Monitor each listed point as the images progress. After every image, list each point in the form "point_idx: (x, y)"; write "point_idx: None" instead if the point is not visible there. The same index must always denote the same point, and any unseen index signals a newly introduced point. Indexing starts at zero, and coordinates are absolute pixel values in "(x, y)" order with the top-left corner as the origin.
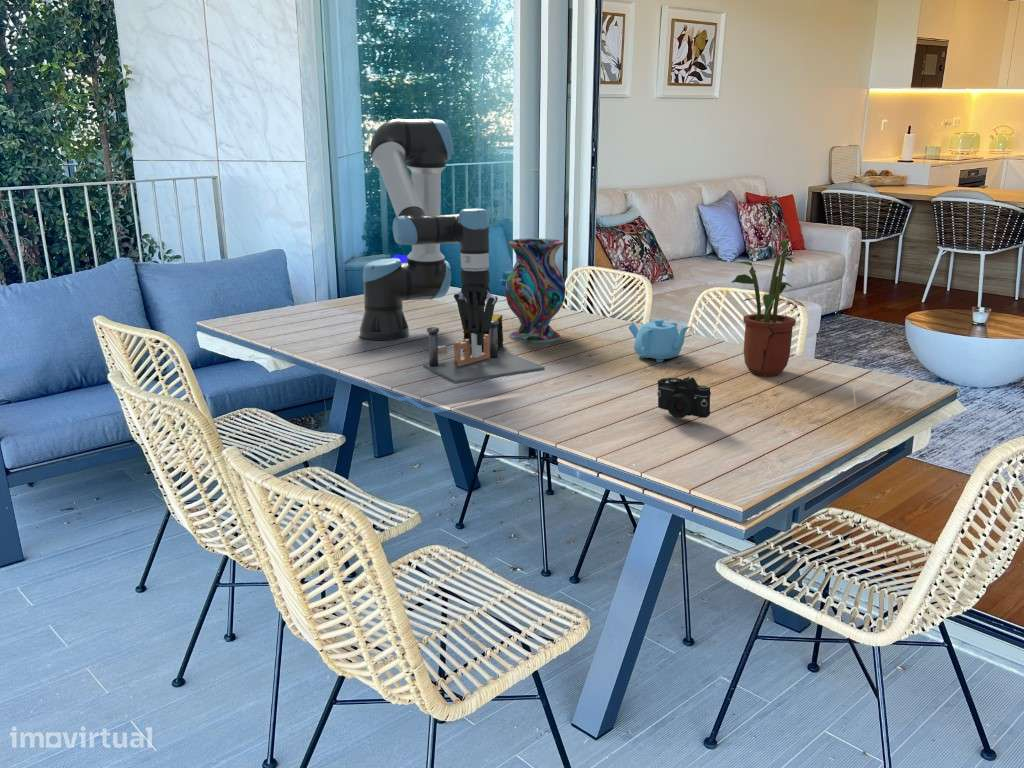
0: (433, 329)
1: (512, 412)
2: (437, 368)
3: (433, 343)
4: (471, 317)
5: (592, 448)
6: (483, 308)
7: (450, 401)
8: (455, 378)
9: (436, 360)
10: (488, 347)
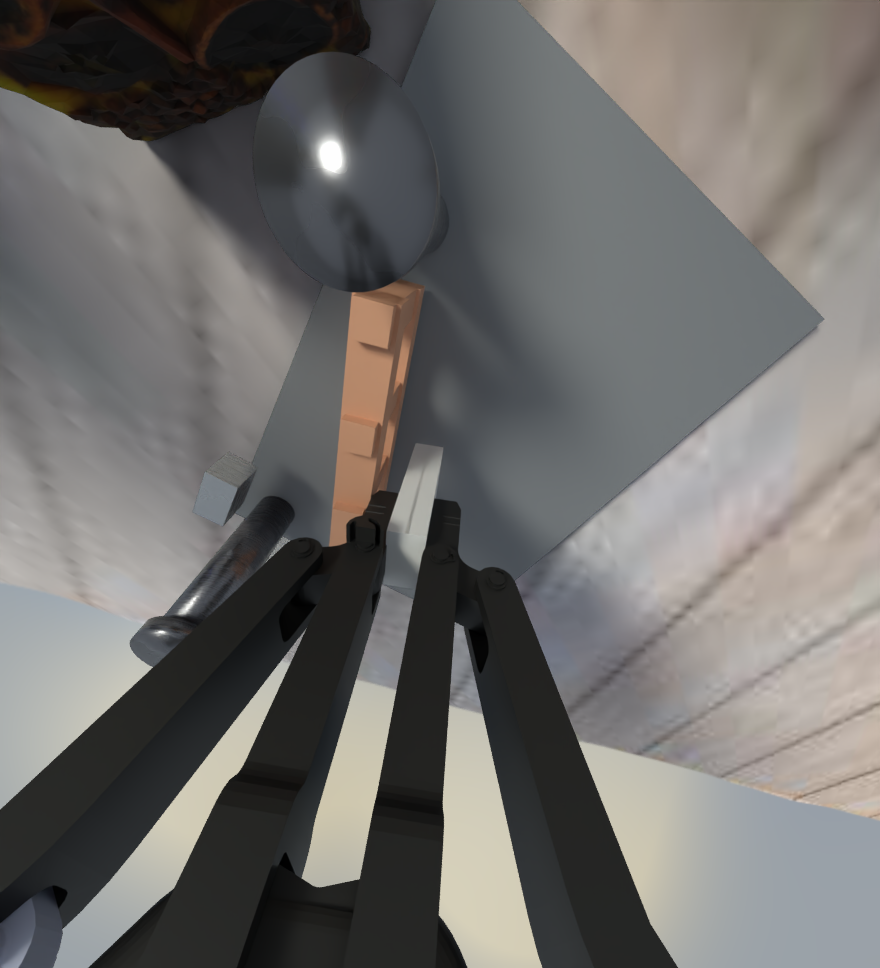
0: None
1: (693, 729)
2: (319, 537)
3: None
4: (348, 699)
5: (866, 803)
6: (441, 798)
7: None
8: None
9: (283, 531)
10: (409, 307)
